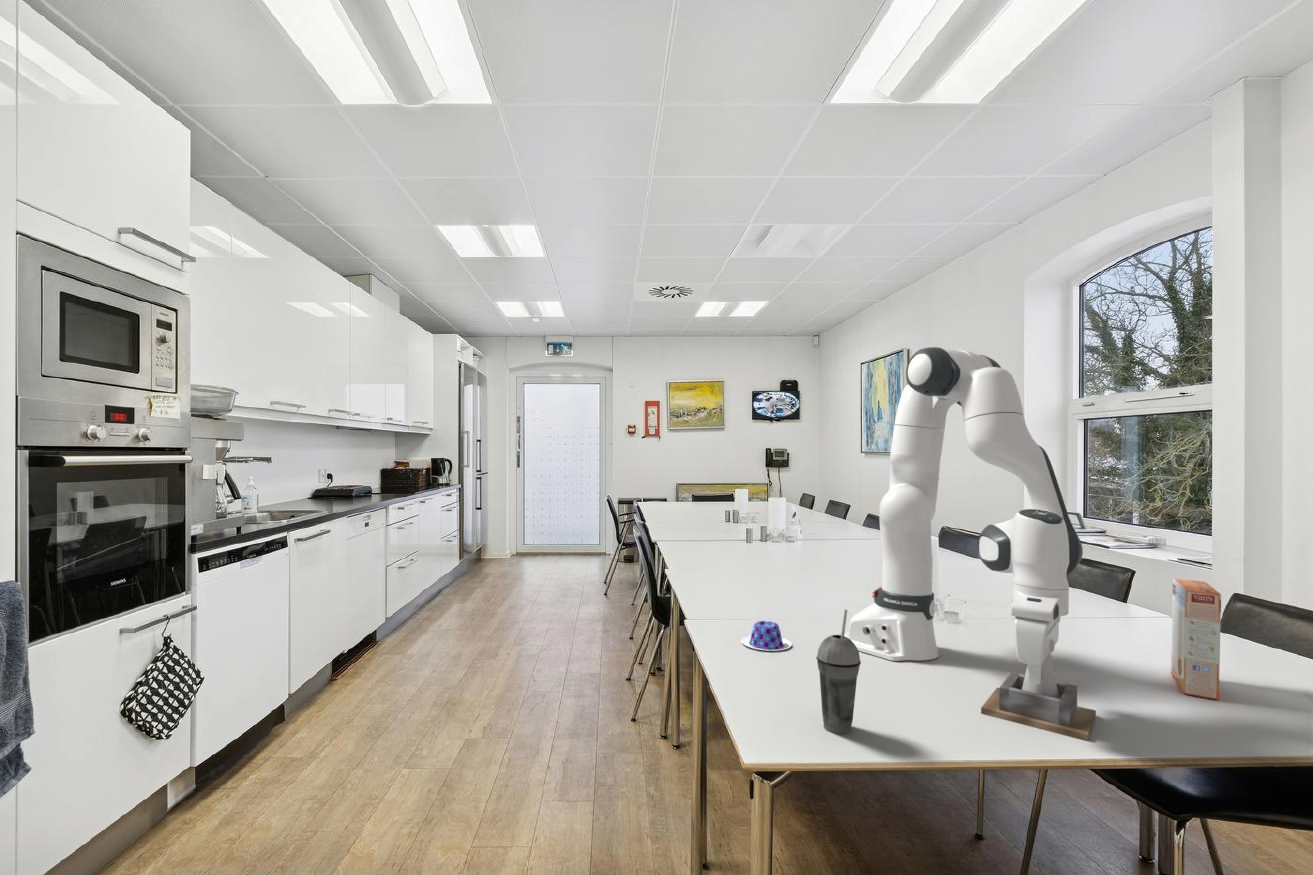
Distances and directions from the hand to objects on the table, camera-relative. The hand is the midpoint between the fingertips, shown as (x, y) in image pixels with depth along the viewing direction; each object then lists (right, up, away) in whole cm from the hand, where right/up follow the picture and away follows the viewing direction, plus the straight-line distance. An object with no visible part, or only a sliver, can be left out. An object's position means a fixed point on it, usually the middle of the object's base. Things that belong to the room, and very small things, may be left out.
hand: (1038, 677), depth 114 cm
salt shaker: (0, -6, 0) cm, 6 cm away
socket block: (0, -7, 0) cm, 7 cm away
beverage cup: (-39, -6, -7) cm, 40 cm away
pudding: (-43, -7, +38) cm, 58 cm away
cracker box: (+41, -8, +15) cm, 44 cm away
